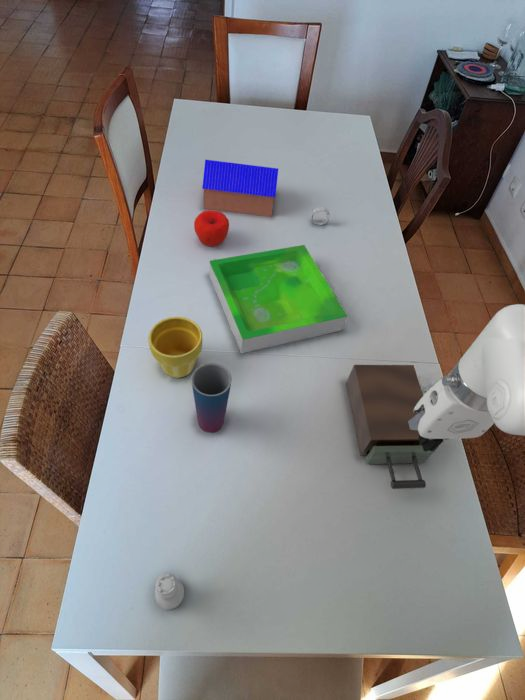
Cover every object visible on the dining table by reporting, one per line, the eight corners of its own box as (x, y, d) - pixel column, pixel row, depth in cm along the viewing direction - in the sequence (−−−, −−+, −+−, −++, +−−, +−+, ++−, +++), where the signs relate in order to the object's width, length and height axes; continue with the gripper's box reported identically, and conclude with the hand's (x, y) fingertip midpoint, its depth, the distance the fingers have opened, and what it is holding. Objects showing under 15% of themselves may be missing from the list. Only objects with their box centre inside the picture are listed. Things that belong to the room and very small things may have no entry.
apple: (203, 257, 117) (202, 232, 111) (189, 236, 121) (188, 211, 115) (234, 248, 120) (235, 224, 114) (219, 228, 124) (220, 204, 118)
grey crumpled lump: (327, 227, 129) (331, 212, 125) (310, 225, 129) (313, 211, 125) (326, 221, 131) (330, 206, 127) (309, 219, 131) (312, 204, 127)
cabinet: (422, 455, 89) (437, 438, 84) (360, 456, 88) (371, 439, 82) (401, 383, 99) (413, 364, 93) (345, 383, 98) (354, 364, 92)
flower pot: (154, 345, 98) (149, 315, 91) (202, 345, 100) (202, 315, 92) (151, 386, 92) (146, 357, 85) (202, 384, 94) (202, 357, 86)
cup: (189, 433, 87) (186, 391, 75) (198, 403, 91) (197, 359, 79) (224, 440, 87) (227, 399, 75) (231, 409, 91) (235, 366, 79)
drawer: (432, 493, 84) (444, 482, 79) (373, 494, 82) (382, 484, 78) (404, 393, 96) (413, 380, 92) (352, 393, 95) (358, 379, 91)
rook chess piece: (150, 605, 69) (145, 597, 63) (161, 574, 72) (156, 563, 65) (178, 613, 69) (176, 605, 63) (188, 582, 72) (186, 571, 65)
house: (207, 185, 136) (208, 147, 127) (274, 193, 137) (279, 156, 128) (202, 209, 129) (202, 171, 119) (272, 217, 130) (277, 181, 120)
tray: (342, 330, 107) (347, 316, 103) (241, 353, 100) (242, 339, 96) (300, 259, 120) (304, 244, 116) (209, 275, 113) (209, 260, 109)
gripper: (434, 408, 57) (387, 465, 71) (544, 407, 59) (476, 463, 73) (418, 359, 61) (377, 422, 76) (521, 360, 63) (461, 422, 78)
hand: (426, 442), depth 75 cm, fingers closed
